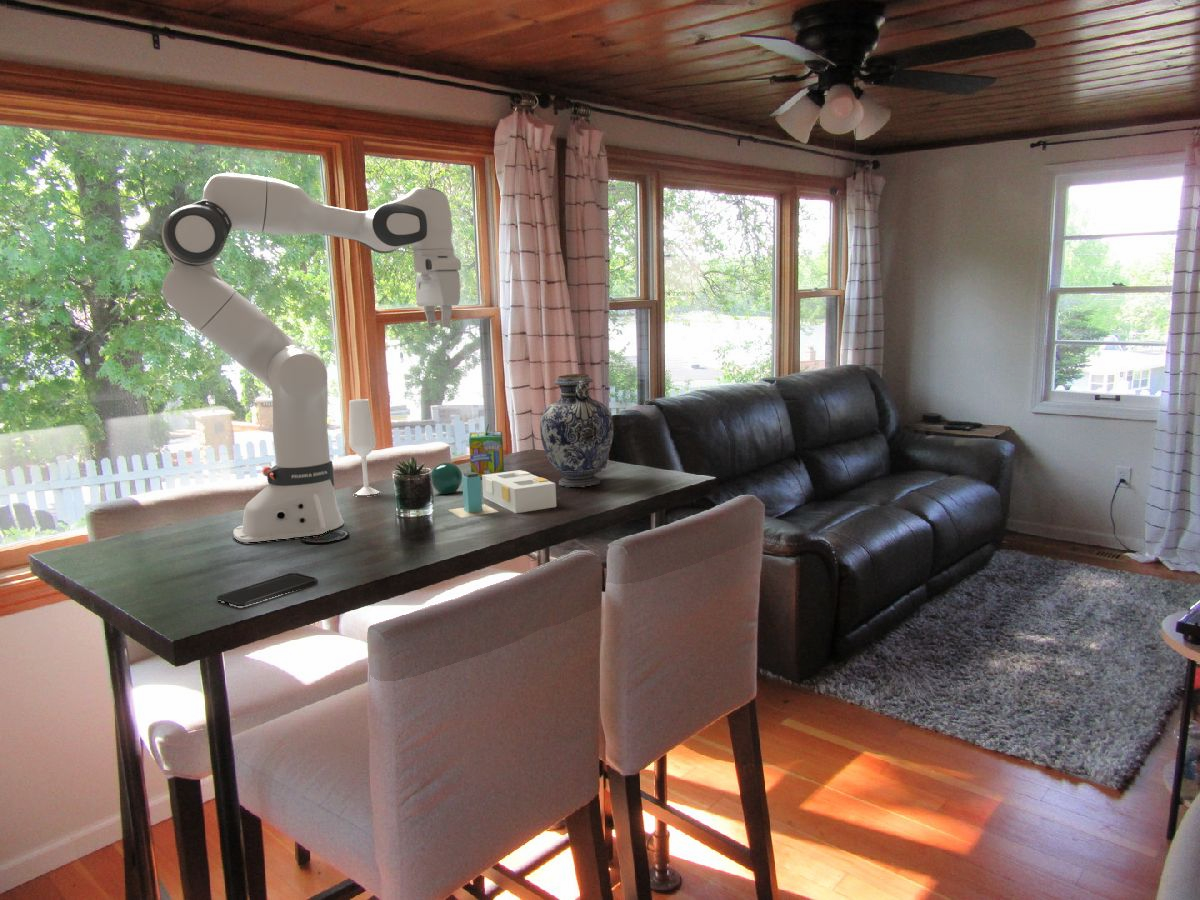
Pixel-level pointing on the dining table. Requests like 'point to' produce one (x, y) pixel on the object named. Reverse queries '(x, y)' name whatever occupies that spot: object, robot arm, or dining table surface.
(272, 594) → the phone
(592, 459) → the decorative vase
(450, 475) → the sphere
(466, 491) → the plug
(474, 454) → the chalk box
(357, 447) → the champagne flute
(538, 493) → the block
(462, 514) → the coaster
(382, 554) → the dining table surface
